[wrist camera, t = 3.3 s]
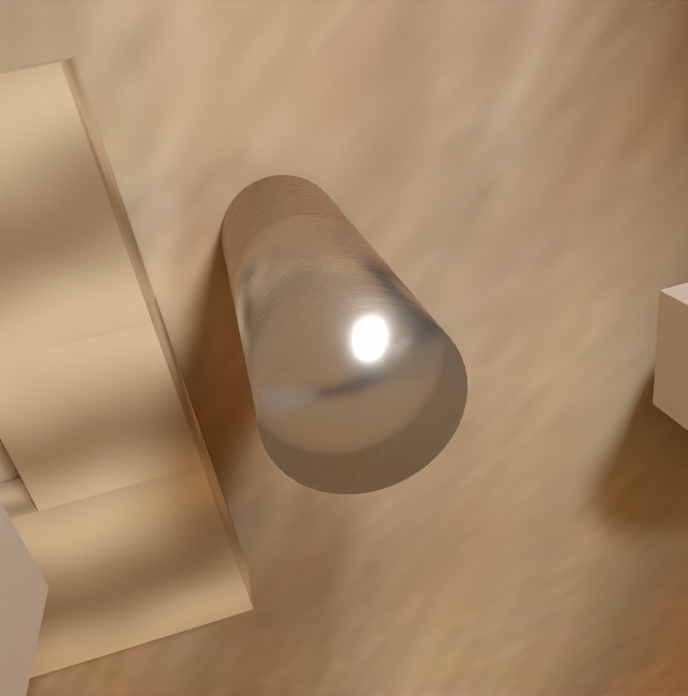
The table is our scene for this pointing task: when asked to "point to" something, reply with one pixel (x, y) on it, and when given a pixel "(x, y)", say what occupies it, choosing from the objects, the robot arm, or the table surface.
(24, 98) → the jig
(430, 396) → the shiny metal cylinder
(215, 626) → the table surface
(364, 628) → the table surface
